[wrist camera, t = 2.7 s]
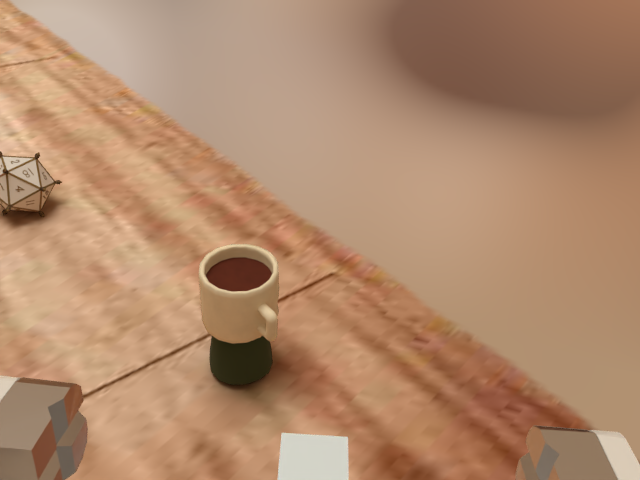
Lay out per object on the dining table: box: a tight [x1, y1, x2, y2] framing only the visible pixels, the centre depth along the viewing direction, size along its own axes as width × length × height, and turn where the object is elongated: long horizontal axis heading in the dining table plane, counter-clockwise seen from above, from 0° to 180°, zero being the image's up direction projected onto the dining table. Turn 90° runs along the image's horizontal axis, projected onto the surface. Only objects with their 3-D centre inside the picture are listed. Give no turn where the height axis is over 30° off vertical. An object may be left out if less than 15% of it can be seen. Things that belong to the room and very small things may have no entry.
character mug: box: [199, 244, 279, 385], centre depth 56 cm, size 11×7×13 cm, turn 40°
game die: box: [0, 152, 62, 217], centre depth 76 cm, size 9×8×10 cm
